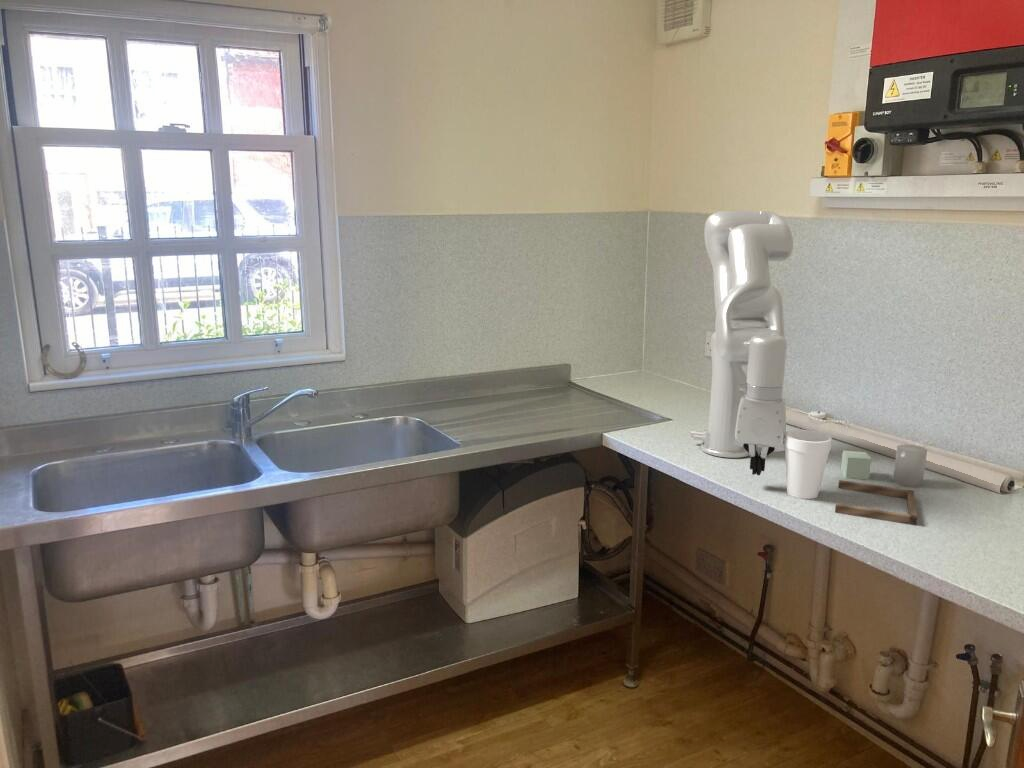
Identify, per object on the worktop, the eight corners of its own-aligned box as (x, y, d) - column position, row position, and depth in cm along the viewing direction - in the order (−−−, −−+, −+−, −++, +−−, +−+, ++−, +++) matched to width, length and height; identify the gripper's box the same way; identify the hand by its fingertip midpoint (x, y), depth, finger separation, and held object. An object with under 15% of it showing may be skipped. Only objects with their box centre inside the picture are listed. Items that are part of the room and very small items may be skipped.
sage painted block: (845, 478, 179) (848, 457, 177) (840, 471, 183) (842, 450, 182) (868, 479, 178) (871, 458, 177) (863, 472, 183) (865, 452, 181)
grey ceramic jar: (893, 484, 175) (897, 450, 173) (892, 476, 180) (896, 443, 178) (923, 488, 172) (927, 454, 170) (921, 480, 178) (926, 446, 176)
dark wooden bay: (834, 512, 159) (835, 505, 158) (838, 486, 173) (839, 479, 173) (916, 525, 153) (917, 517, 152) (912, 497, 167) (913, 490, 167)
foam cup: (796, 503, 163) (802, 444, 160) (770, 488, 172) (775, 431, 169) (835, 499, 166) (841, 440, 163) (807, 484, 174) (813, 428, 171)
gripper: (725, 392, 167) (719, 473, 171) (799, 400, 161) (790, 483, 165) (731, 385, 174) (725, 463, 178) (802, 392, 168) (794, 473, 172)
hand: (756, 472), depth 172 cm, fingers closed
